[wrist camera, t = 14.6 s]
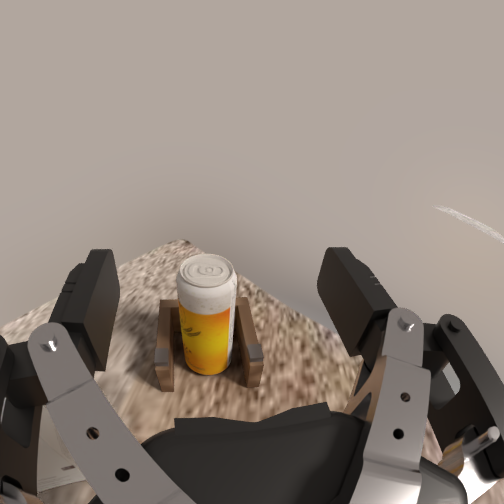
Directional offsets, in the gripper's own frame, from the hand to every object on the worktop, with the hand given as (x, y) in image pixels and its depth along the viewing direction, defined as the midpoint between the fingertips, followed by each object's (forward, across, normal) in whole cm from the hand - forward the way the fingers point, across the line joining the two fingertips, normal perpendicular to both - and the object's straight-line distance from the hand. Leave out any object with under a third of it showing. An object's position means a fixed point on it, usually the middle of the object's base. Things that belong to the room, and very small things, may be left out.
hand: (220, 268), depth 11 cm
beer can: (+14, 0, +26) cm, 30 cm away
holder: (+14, 0, +26) cm, 29 cm away
